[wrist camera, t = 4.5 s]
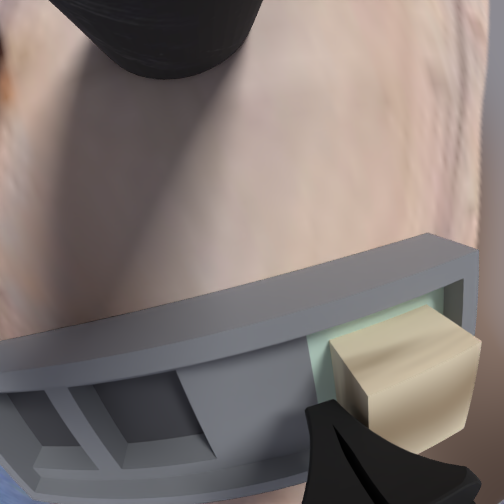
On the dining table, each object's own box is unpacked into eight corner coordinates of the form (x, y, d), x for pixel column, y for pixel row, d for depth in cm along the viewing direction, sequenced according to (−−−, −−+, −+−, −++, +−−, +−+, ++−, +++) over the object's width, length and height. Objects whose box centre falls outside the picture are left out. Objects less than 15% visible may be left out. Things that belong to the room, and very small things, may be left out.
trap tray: (427, 380, 18) (460, 415, 14) (49, 461, 16) (33, 499, 12) (427, 232, 15) (478, 249, 11) (-26, 345, 14) (-60, 377, 10)
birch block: (423, 385, 15) (464, 428, 11) (338, 420, 14) (368, 476, 10) (426, 304, 13) (481, 341, 9) (328, 339, 13) (368, 396, 9)
